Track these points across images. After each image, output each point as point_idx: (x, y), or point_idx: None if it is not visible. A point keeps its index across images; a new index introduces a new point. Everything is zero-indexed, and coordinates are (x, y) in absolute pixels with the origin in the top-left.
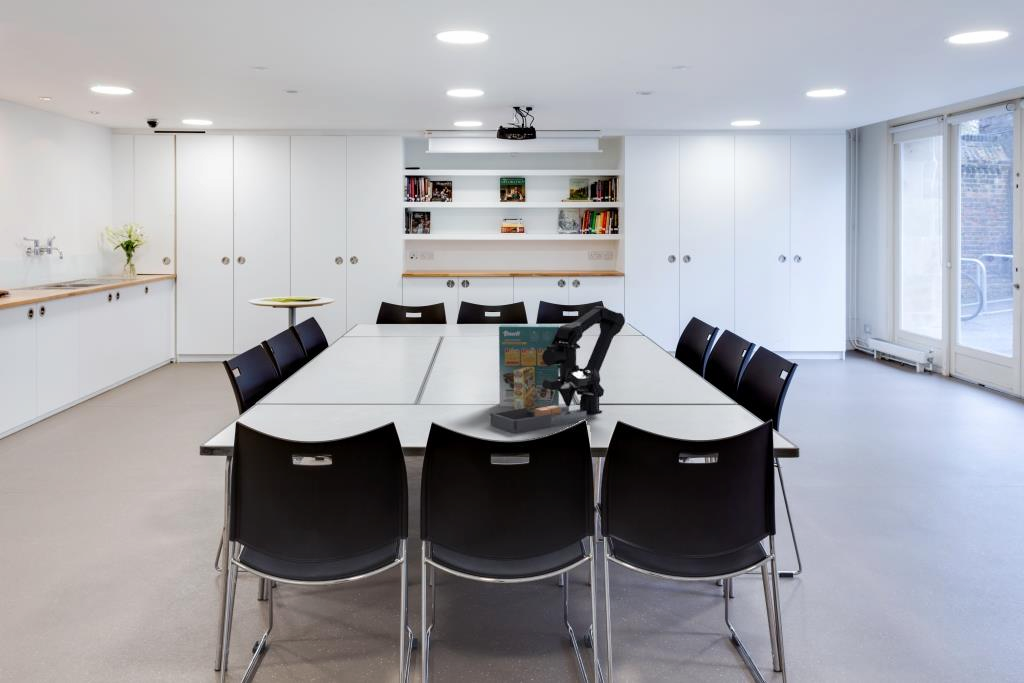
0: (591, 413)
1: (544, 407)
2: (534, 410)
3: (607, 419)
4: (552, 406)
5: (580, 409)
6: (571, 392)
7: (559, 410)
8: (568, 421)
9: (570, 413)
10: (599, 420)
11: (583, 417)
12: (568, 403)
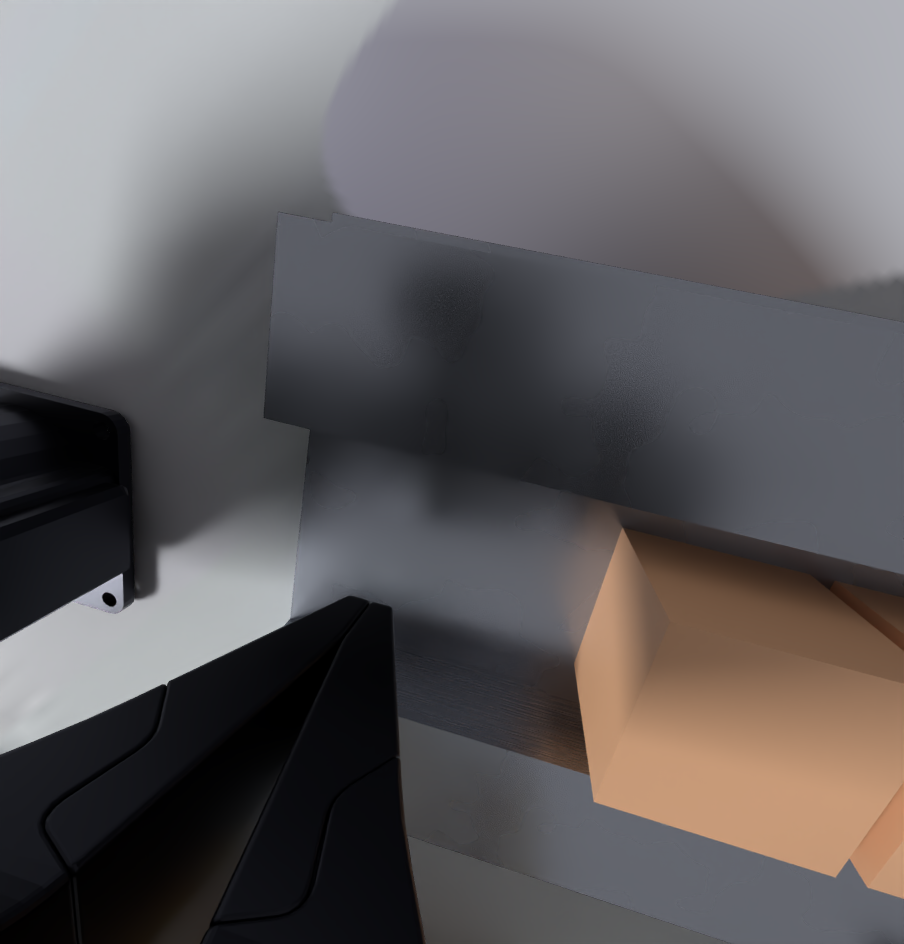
0: (86, 406)
1: (901, 871)
2: (838, 927)
3: (103, 13)
4: (714, 790)
5: (273, 393)
6: (70, 888)
7: (700, 596)
8: (752, 296)
9: (702, 316)
10: (234, 65)
11: (413, 230)
12: (376, 631)
